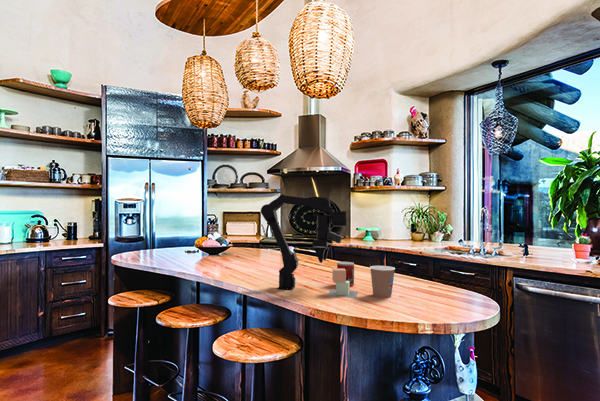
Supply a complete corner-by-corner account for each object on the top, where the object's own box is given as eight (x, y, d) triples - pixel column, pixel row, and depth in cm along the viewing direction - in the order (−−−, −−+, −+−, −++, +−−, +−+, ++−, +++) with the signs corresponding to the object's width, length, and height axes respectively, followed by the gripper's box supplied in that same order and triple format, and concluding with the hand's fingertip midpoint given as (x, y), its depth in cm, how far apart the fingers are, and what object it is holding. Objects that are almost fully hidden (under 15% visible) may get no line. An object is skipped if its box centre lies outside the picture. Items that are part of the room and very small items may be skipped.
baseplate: (326, 297, 148) (326, 295, 148) (330, 291, 160) (330, 289, 160) (356, 299, 145) (356, 298, 145) (358, 293, 157) (358, 291, 157)
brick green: (335, 294, 151) (336, 282, 151) (337, 292, 156) (337, 280, 156) (348, 295, 150) (348, 283, 150) (349, 292, 154) (349, 280, 155)
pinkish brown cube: (333, 282, 150) (333, 270, 150) (332, 280, 155) (332, 268, 155) (345, 282, 150) (346, 270, 150) (344, 280, 155) (344, 268, 155)
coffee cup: (395, 300, 145) (396, 270, 145) (369, 298, 147) (369, 268, 147) (394, 294, 155) (394, 266, 155) (369, 293, 157) (369, 265, 157)
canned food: (348, 289, 165) (349, 264, 165) (333, 286, 170) (333, 262, 170) (357, 286, 171) (357, 262, 171) (342, 284, 176) (342, 261, 176)
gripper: (338, 227, 152) (338, 265, 152) (343, 225, 171) (343, 259, 170) (312, 226, 155) (311, 263, 155) (320, 225, 173) (319, 258, 173)
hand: (322, 261), depth 163 cm, fingers open, 9 cm apart
